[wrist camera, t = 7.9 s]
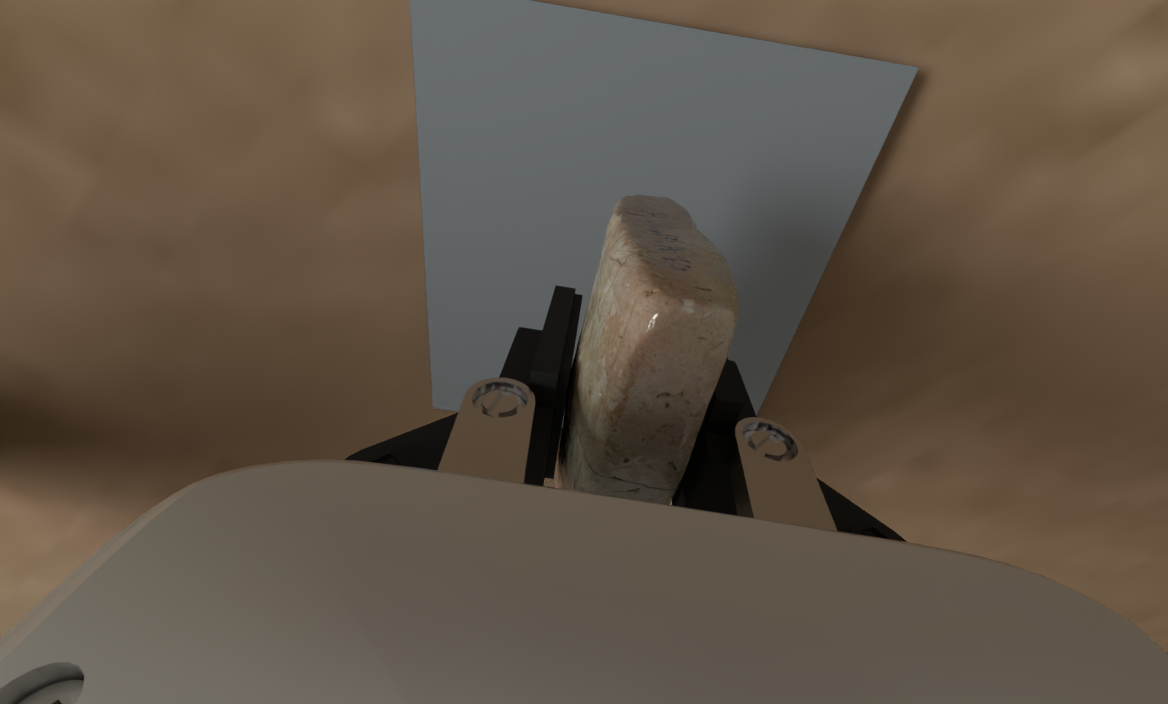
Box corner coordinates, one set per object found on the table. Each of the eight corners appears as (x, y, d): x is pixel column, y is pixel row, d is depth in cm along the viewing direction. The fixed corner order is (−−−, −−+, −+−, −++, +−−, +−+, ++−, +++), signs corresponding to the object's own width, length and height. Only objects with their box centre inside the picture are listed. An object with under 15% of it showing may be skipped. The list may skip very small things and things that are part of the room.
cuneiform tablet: (659, 701, 12) (873, 330, 6) (522, 682, 12) (579, 283, 6) (648, 520, 17) (757, 206, 11) (550, 505, 17) (599, 180, 10)
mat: (438, 396, 21) (432, 407, 20) (420, -17, 13) (408, -21, 12) (735, 441, 21) (738, 453, 20) (903, 67, 13) (919, 67, 12)
